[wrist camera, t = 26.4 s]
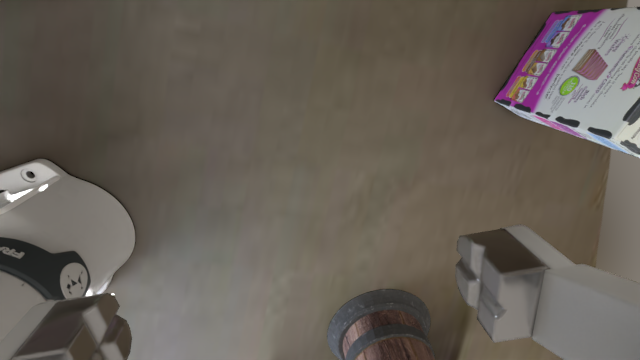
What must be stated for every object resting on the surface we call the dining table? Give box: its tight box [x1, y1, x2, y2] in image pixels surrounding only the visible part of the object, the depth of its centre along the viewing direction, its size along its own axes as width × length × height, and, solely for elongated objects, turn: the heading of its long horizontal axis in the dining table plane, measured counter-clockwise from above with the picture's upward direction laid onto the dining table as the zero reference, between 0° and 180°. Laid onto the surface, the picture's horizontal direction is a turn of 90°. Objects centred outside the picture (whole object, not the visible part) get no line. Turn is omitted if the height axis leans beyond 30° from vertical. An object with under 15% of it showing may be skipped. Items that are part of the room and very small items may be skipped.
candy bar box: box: [494, 7, 640, 158], centre depth 33 cm, size 11×5×16 cm, turn 153°
